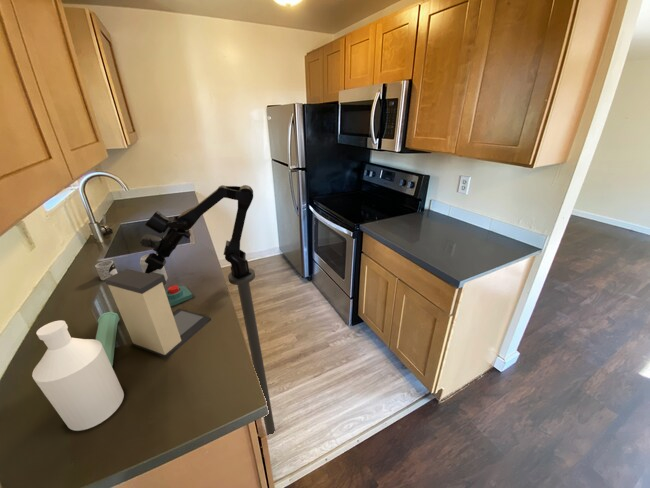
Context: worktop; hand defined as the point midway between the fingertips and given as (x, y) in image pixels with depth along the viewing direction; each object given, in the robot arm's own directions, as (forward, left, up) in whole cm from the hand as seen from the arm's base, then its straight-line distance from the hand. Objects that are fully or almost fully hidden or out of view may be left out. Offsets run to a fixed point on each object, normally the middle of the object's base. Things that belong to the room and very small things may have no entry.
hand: (149, 268), depth 110 cm
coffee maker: (+3, +32, -11) cm, 34 cm away
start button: (-4, +12, -7) cm, 14 cm away
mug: (+12, -31, -11) cm, 35 cm away
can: (-1, +1, -7) cm, 7 cm away
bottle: (+25, +47, -11) cm, 54 cm away
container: (+20, +25, -11) cm, 33 cm away
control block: (-4, +12, -11) cm, 16 cm away
